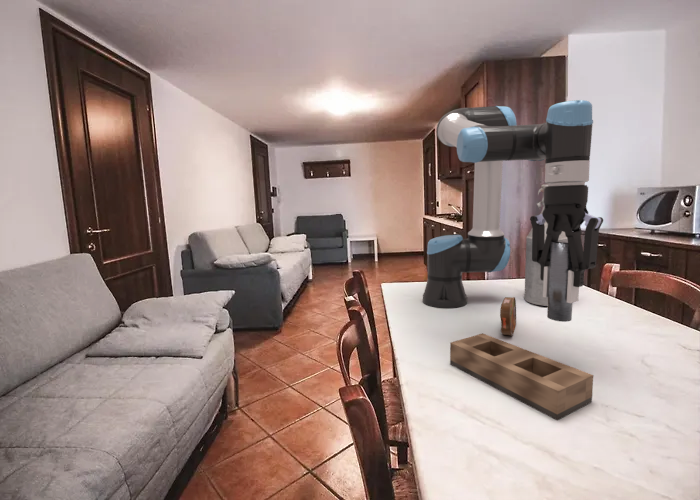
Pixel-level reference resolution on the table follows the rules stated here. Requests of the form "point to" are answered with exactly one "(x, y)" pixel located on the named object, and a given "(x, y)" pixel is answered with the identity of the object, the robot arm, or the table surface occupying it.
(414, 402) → the table surface
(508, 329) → the tin
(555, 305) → the pin
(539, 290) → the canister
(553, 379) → the bore block
